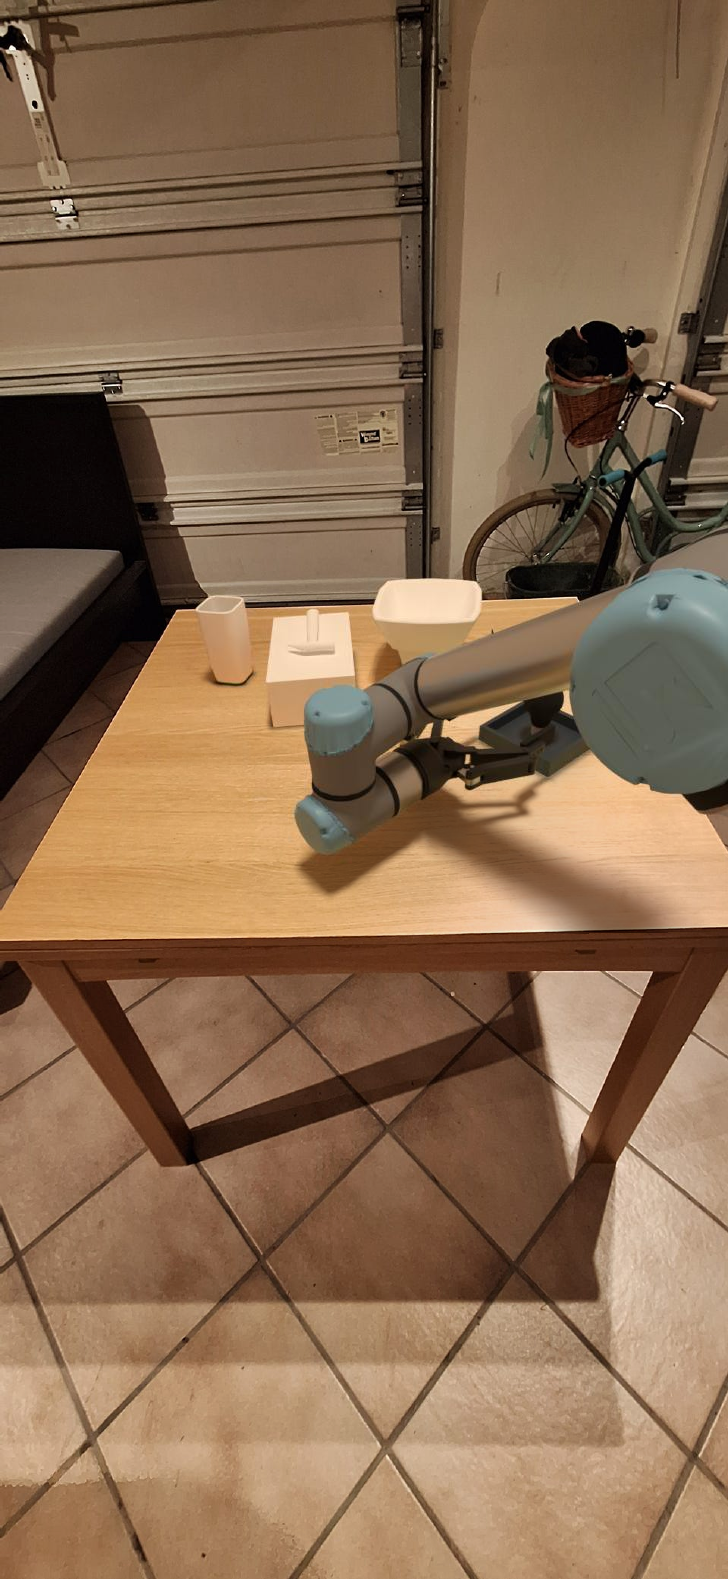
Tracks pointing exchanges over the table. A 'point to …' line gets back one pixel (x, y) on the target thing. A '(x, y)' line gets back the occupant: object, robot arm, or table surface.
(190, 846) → the table surface
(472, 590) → the bowl
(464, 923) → the table surface
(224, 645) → the cup
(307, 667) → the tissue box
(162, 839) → the table surface
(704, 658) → the robot arm
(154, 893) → the table surface
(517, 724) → the slate tray
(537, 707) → the light bulb
